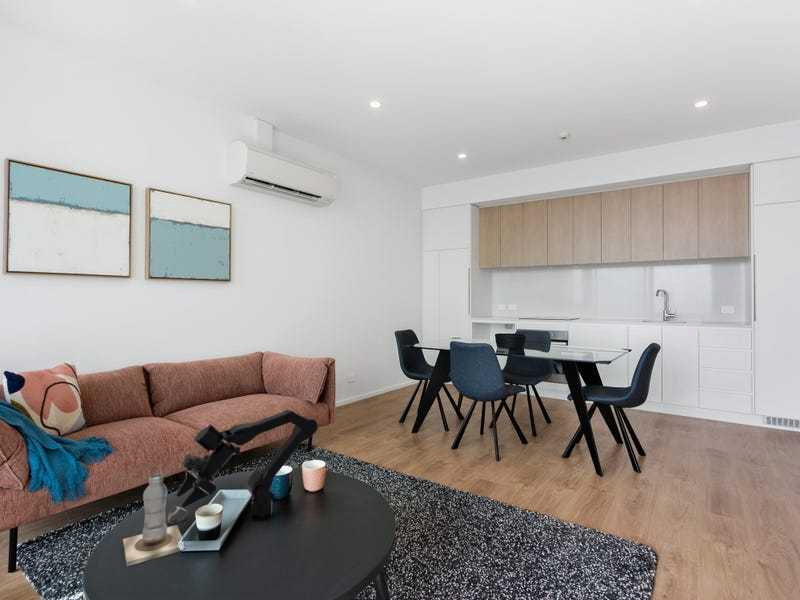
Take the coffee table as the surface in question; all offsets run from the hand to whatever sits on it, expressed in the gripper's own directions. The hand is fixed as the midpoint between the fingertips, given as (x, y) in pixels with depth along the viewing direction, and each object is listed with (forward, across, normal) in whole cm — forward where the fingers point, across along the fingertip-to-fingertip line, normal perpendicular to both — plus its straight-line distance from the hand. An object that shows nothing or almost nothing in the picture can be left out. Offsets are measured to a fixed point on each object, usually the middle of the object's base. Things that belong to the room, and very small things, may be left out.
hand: (180, 501), depth 134 cm
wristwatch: (+8, -12, +10) cm, 17 cm away
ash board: (+13, 0, +3) cm, 14 cm away
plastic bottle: (+12, 0, +3) cm, 13 cm away
